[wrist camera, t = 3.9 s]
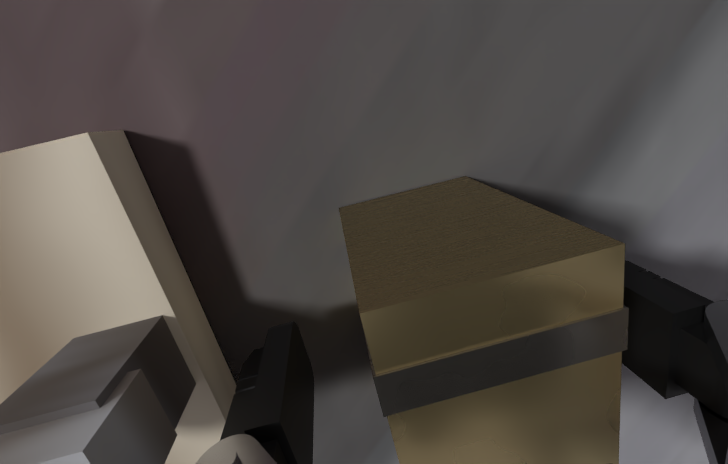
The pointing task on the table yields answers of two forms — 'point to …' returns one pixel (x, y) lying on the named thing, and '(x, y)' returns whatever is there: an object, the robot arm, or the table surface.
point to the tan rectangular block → (489, 326)
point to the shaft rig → (99, 316)
